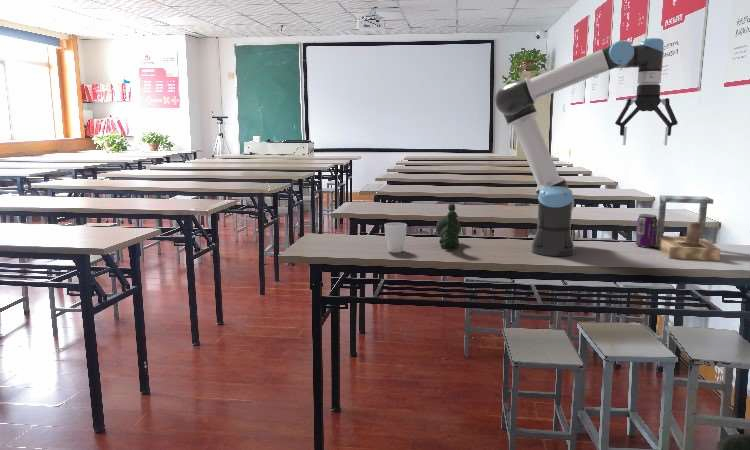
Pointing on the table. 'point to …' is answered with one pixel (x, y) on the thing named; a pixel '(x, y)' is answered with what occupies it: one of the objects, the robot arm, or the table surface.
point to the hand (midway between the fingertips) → (644, 145)
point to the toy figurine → (449, 228)
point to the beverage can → (646, 230)
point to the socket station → (677, 244)
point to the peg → (693, 234)
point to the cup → (395, 236)
